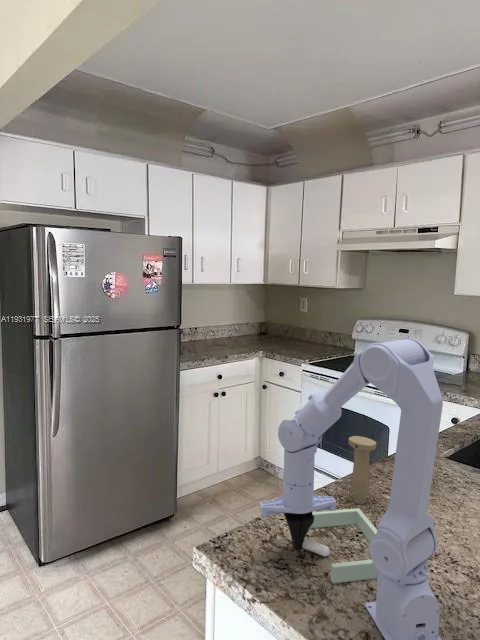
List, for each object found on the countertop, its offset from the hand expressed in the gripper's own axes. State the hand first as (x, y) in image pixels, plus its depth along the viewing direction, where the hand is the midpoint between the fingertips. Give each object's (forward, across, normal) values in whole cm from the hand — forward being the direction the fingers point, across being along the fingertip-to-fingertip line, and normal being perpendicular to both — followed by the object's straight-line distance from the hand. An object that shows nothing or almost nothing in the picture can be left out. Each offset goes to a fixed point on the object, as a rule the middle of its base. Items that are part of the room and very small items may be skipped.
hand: (296, 547), depth 87 cm
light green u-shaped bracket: (+1, -10, 0) cm, 10 cm away
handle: (+2, -21, -17) cm, 27 cm away
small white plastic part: (+2, -4, +1) cm, 4 cm away
